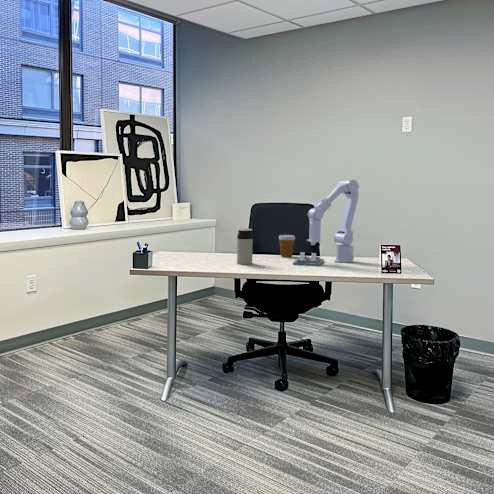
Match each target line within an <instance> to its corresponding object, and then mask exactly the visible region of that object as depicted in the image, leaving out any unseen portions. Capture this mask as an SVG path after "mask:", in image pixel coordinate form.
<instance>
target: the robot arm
mask: <svg viewBox="0 0 494 494" xmlns="http://www.w3.org/2000/svg"><path fill="white" fill-rule="evenodd" d="M359 189H360V185H359V183H358V181H357V180H356V179H340V180H339V182H337V183H336V185H335V187H334V188H333V190H331V192H330V193H329V194H328V195H327V197H323V198H320V200H319V202H318V203H317V204H316V205H314V207H313V208H311V209H310V210H308V213H307V217H308V221H309V234H308V235H309V236H308V237H309V238H308V239H306V241H307V242H310V243H308V246H309V249H310V253H311V255H312V253H316V257H318V252H319V248H320V246H321V243H320V242H322V241H321V230H322V229H321V227H322V226H321V225H322V222H321V221H322V219H323V217H324V214H325V213H326V212H327V211H328V210H329V209H330V207H332V202H333V201H334V200H336V199H337V198H338V197H339V196H340V195H342V194H344V195H345V196H346V198H347V199H346V204H345V206H344V210H343V211H344V212H343V216H342V220H341V225H340V226H339V227H338V228H337V229H336V232H335V233H334V235H333V241H334V242H335V245H336V248H335V260H334V263H351V264H352V263H353V262H354V260H355V259H354V251H355V250H354V248H355V247H354V245H352V243H353V242H354V236H353V235H354V232H353V230H352V225H353V222H354V217H355V213H356V209H357V204H358V201H359Z"/></svg>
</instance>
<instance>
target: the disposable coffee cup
mask: <svg viewBox="0 0 494 494" xmlns="http://www.w3.org/2000/svg"><path fill="white" fill-rule="evenodd" d="M278 240H279V249H280V257H281V258H293V253H294V245H295V240H296V236H295V235H294V234H293V235H292V234H280V235H279V236H278Z"/></svg>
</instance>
